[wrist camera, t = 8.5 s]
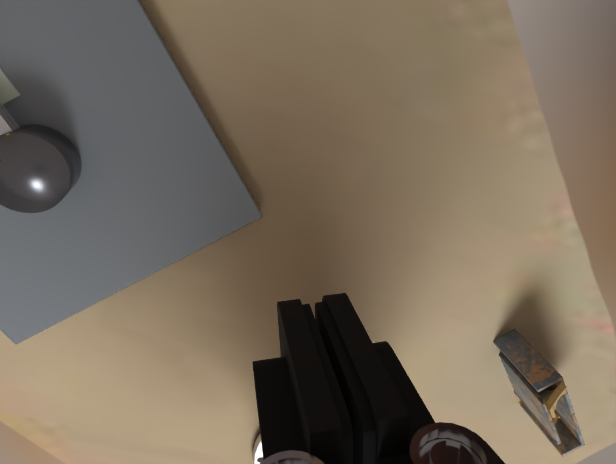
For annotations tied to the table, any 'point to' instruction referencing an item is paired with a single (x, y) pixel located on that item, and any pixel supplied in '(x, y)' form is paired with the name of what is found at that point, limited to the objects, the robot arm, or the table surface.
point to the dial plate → (106, 159)
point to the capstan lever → (34, 165)
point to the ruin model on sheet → (540, 392)
